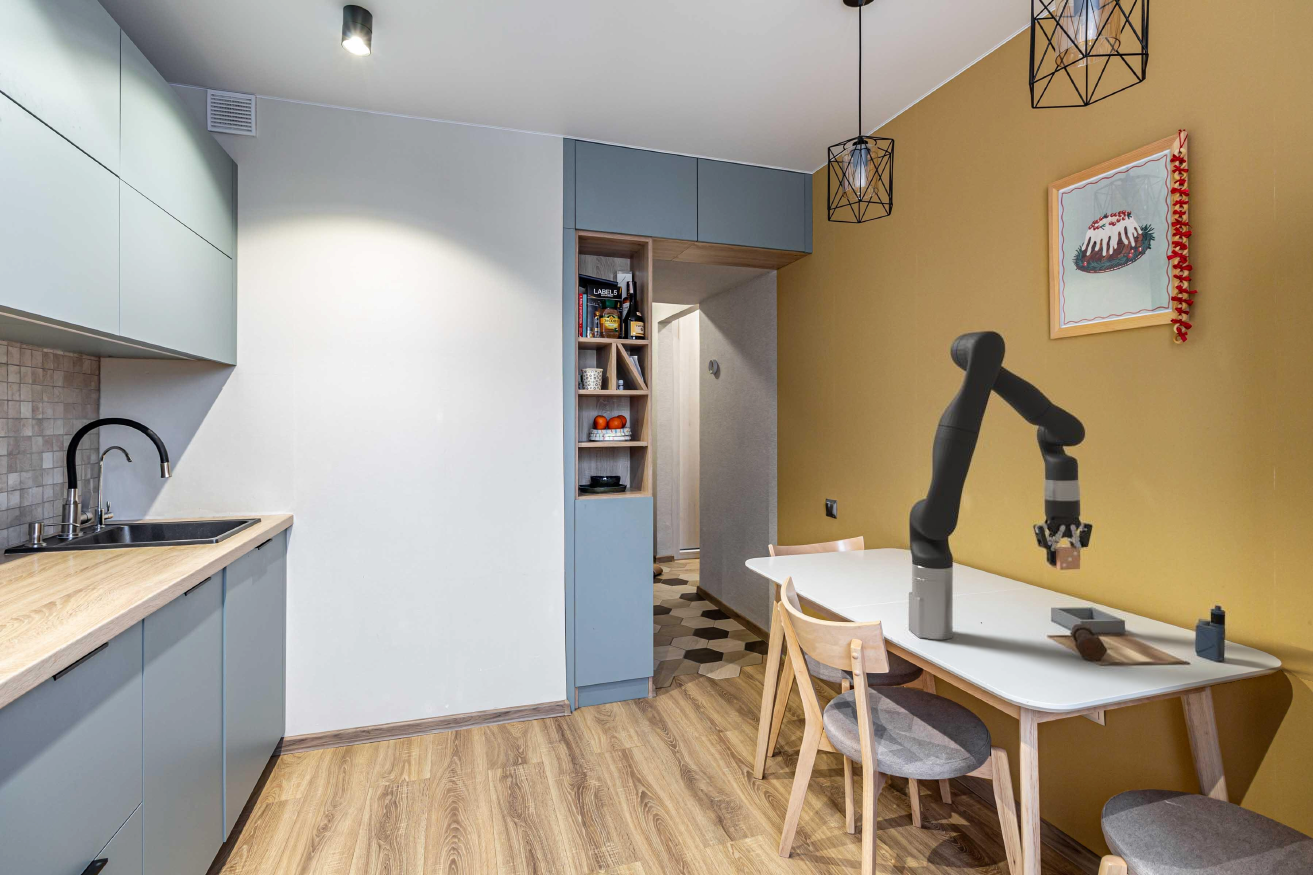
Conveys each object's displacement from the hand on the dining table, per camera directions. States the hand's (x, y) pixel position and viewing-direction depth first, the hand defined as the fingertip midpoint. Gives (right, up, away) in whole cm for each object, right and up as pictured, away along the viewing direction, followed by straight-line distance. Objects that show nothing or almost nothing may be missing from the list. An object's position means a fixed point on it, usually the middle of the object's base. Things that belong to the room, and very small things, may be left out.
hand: (1063, 564), depth 156 cm
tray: (+6, -16, +1) cm, 17 cm away
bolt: (-4, -17, -14) cm, 22 cm away
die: (0, +2, 0) cm, 2 cm away
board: (+2, -17, -14) cm, 22 cm away
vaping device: (+19, -17, -20) cm, 32 cm away
